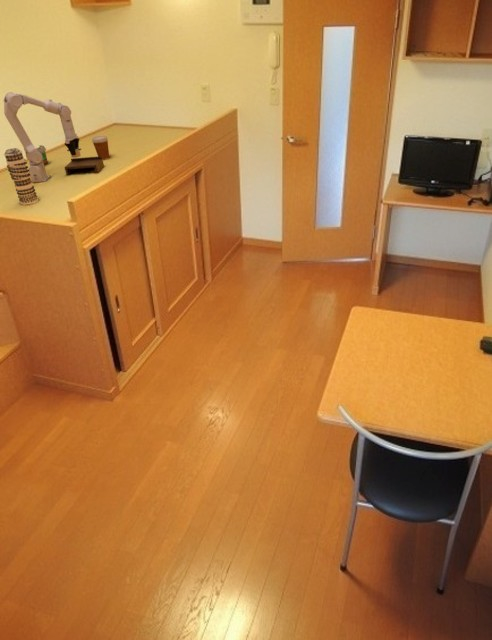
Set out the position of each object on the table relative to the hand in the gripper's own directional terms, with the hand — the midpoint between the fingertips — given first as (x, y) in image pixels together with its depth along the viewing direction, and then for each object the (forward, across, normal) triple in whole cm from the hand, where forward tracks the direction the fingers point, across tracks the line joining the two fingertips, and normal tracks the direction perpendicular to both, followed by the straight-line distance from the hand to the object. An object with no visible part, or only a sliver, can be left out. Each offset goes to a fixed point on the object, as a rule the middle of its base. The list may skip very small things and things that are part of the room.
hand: (75, 153), depth 275 cm
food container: (+9, +16, +27) cm, 33 cm away
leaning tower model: (+9, -50, +10) cm, 52 cm away
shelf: (+9, -4, -5) cm, 11 cm away
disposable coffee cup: (+9, +21, -9) cm, 24 cm away
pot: (+2, 0, 0) cm, 2 cm away
